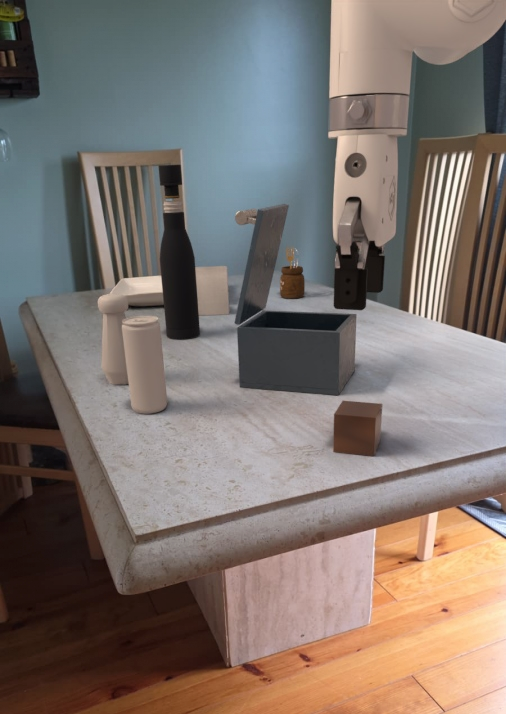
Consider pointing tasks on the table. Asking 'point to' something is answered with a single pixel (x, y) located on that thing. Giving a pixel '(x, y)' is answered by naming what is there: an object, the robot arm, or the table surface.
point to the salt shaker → (113, 337)
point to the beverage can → (145, 363)
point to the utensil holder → (292, 279)
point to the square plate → (141, 290)
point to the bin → (297, 351)
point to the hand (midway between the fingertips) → (359, 299)
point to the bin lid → (260, 257)
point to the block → (357, 428)
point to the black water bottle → (177, 263)
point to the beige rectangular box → (212, 290)
